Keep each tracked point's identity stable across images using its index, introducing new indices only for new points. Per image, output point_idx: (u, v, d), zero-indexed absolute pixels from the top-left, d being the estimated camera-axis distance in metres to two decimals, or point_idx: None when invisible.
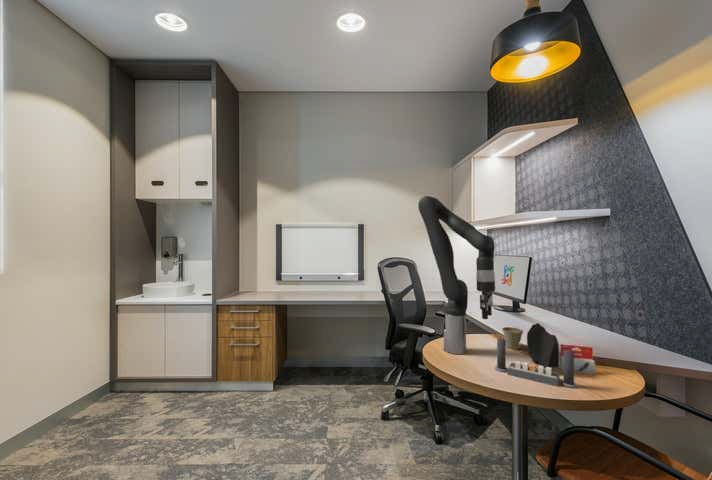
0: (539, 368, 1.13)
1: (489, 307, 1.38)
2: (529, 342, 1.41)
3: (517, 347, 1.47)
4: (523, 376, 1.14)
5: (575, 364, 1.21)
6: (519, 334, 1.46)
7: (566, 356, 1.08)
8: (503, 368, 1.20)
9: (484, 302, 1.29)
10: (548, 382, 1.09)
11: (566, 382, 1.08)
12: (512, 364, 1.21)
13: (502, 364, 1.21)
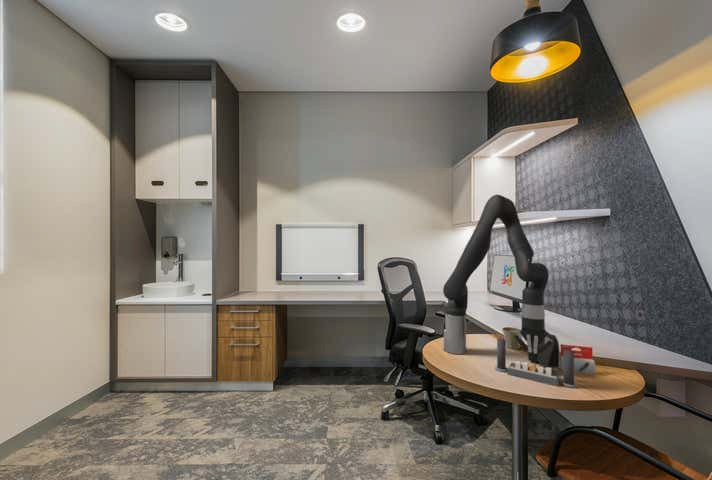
0: (539, 368, 1.13)
1: (532, 352, 1.16)
2: None
3: (517, 347, 1.47)
4: (523, 376, 1.14)
5: (575, 364, 1.21)
6: None
7: (566, 356, 1.08)
8: (503, 368, 1.20)
9: None
10: (548, 382, 1.09)
11: (566, 382, 1.08)
12: (512, 364, 1.21)
13: (502, 364, 1.21)
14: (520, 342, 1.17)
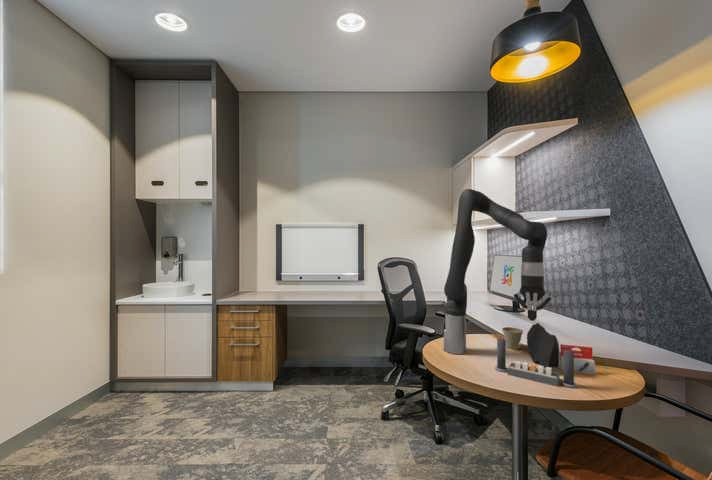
0: (539, 368, 1.13)
1: None
2: (529, 342, 1.41)
3: (517, 347, 1.47)
4: (523, 376, 1.14)
5: (575, 364, 1.21)
6: (519, 334, 1.46)
7: (566, 356, 1.08)
8: (503, 368, 1.20)
9: None
10: (548, 382, 1.09)
11: (566, 382, 1.08)
12: (512, 364, 1.21)
13: (502, 364, 1.21)
14: (519, 300, 1.18)
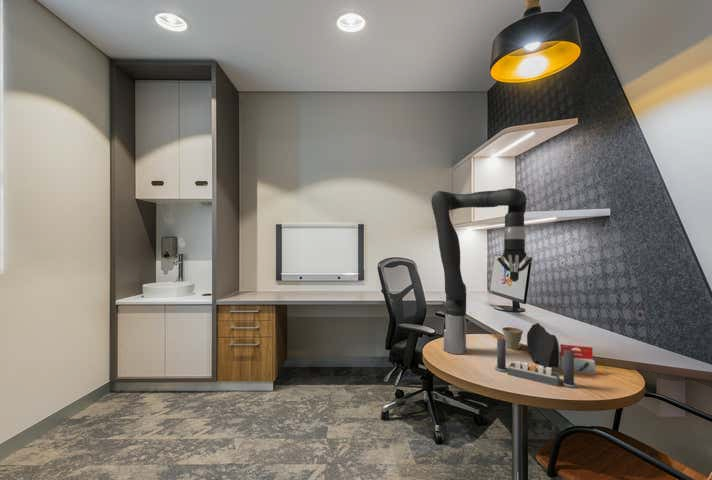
0: (539, 368, 1.13)
1: (514, 272, 1.24)
2: (529, 342, 1.41)
3: (517, 347, 1.47)
4: (523, 376, 1.14)
5: (575, 364, 1.21)
6: (519, 334, 1.46)
7: (566, 356, 1.08)
8: (503, 368, 1.20)
9: (527, 265, 1.22)
10: (548, 382, 1.09)
11: (566, 382, 1.08)
12: (512, 364, 1.21)
13: (502, 364, 1.21)
14: (503, 263, 1.26)
